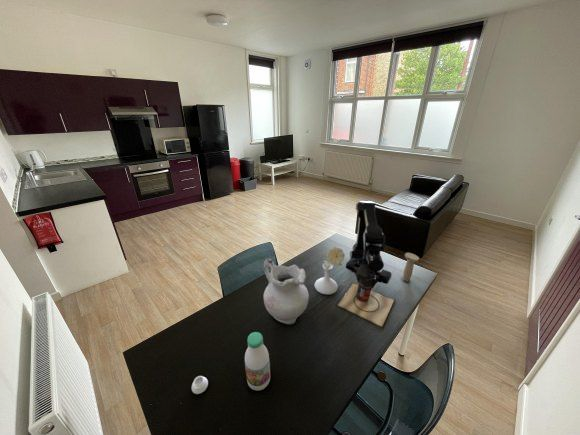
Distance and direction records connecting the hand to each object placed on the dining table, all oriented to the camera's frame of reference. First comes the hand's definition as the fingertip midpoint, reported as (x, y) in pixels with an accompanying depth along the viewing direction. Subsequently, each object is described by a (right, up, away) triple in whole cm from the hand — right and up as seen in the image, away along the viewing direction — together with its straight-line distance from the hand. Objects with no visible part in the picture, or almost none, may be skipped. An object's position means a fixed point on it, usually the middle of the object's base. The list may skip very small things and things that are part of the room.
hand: (365, 285), depth 109 cm
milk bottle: (-45, -23, -29) cm, 58 cm away
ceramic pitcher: (-37, -11, -2) cm, 39 cm away
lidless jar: (-64, -24, -31) cm, 75 cm away
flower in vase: (-16, -5, +10) cm, 19 cm away
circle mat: (+1, -9, +1) cm, 9 cm away
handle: (+26, -2, +16) cm, 31 cm away
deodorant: (0, -7, +4) cm, 8 cm away
